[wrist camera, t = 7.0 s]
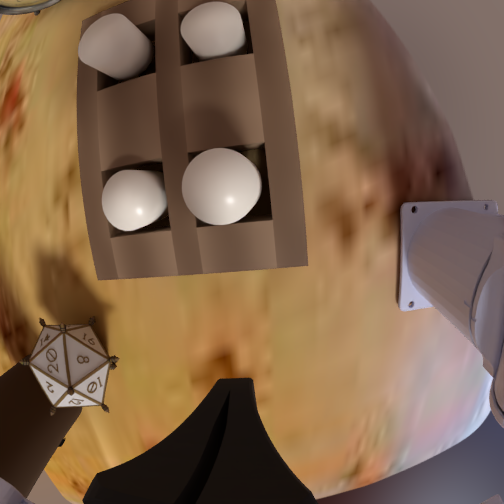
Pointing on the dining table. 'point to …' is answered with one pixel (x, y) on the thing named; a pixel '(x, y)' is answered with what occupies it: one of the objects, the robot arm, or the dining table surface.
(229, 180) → the white rounded cylinder
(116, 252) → the board
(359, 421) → the dining table surface
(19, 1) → the alarm clock
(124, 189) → the white rounded piece
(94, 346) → the game die
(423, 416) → the dining table surface
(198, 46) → the white rounded cylinder
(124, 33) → the button
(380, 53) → the dining table surface
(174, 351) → the dining table surface
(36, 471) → the olive oil
